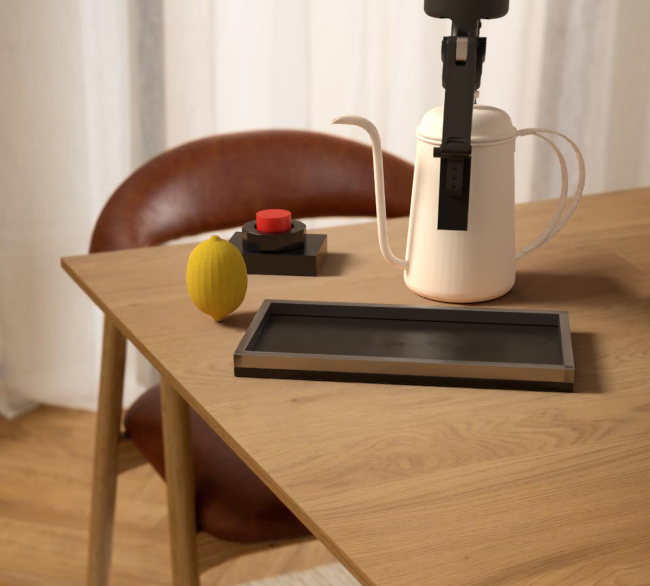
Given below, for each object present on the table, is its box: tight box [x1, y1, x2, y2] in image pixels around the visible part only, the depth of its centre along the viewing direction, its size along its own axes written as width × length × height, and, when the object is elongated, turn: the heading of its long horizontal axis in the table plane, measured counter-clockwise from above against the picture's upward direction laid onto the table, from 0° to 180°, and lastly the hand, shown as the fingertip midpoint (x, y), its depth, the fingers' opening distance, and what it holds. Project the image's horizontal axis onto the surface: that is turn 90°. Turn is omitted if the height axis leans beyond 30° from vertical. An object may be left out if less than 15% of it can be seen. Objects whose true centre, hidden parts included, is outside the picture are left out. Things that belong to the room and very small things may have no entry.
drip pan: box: [232, 298, 576, 393], centre depth 101 cm, size 27×14×2 cm, turn 82°
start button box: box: [228, 218, 328, 278], centre depth 123 cm, size 10×8×4 cm
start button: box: [255, 208, 292, 232], centre depth 122 cm, size 4×4×2 cm
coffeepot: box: [328, 89, 587, 304], centre depth 112 cm, size 11×25×19 cm, turn 102°
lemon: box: [185, 234, 249, 322], centre depth 107 cm, size 6×6×8 cm
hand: (455, 209), depth 113 cm, fingers open, 13 cm apart
